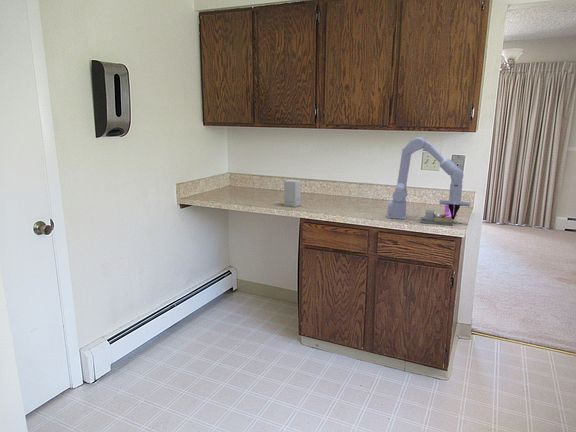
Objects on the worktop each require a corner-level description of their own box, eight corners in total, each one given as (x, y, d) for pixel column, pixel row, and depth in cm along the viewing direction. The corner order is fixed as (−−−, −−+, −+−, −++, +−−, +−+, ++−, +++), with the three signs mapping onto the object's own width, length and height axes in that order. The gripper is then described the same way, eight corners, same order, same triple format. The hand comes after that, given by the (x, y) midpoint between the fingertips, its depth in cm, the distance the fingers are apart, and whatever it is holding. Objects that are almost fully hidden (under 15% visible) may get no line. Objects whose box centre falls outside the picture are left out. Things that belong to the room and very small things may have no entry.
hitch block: (420, 221, 229) (421, 211, 228) (421, 218, 234) (422, 209, 233) (446, 223, 224) (446, 213, 223) (446, 220, 230) (447, 211, 229)
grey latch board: (420, 222, 225) (420, 215, 224) (422, 218, 236) (422, 211, 235) (453, 225, 219) (453, 218, 218) (453, 220, 230) (454, 213, 229)
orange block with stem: (432, 219, 227) (432, 213, 226) (432, 217, 231) (433, 211, 231) (445, 220, 225) (446, 214, 224) (446, 218, 229) (446, 213, 228)
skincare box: (300, 205, 265) (301, 180, 262) (295, 207, 260) (295, 181, 256) (289, 204, 270) (289, 179, 266) (283, 205, 264) (283, 180, 261)
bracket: (446, 214, 247) (447, 202, 245) (456, 215, 243) (457, 203, 242) (439, 218, 236) (440, 205, 235) (449, 219, 233) (451, 207, 231)
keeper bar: (433, 220, 223) (433, 217, 223) (433, 220, 224) (434, 217, 224) (452, 222, 220) (452, 219, 219) (452, 222, 221) (452, 219, 220)
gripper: (440, 193, 222) (437, 219, 225) (470, 195, 216) (468, 222, 219) (440, 191, 228) (438, 216, 231) (470, 193, 223) (468, 219, 226)
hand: (452, 219), depth 226 cm, fingers closed
